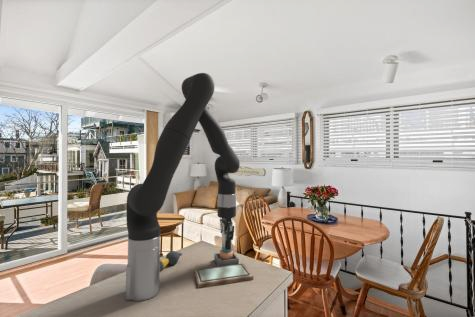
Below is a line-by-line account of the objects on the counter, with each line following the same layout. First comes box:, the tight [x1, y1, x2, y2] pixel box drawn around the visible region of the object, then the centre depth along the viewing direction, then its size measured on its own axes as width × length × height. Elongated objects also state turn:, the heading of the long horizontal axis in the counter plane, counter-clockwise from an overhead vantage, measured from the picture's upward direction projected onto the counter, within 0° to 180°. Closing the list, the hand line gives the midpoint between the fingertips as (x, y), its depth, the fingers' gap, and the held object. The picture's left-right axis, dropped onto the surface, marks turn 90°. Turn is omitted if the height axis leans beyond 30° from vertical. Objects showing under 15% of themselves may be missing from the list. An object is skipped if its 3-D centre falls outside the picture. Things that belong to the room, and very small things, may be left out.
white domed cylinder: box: [221, 231, 233, 253], centre depth 94 cm, size 4×4×8 cm
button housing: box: [213, 251, 240, 267], centre depth 94 cm, size 8×8×2 cm
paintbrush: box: [160, 250, 183, 272], centre depth 88 cm, size 20×5×5 cm, turn 155°
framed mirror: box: [193, 263, 255, 289], centre depth 83 cm, size 19×11×1 cm, turn 108°
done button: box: [219, 249, 234, 260], centre depth 94 cm, size 5×5×3 cm
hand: (226, 247), depth 94 cm, fingers closed on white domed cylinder, 4 cm apart
